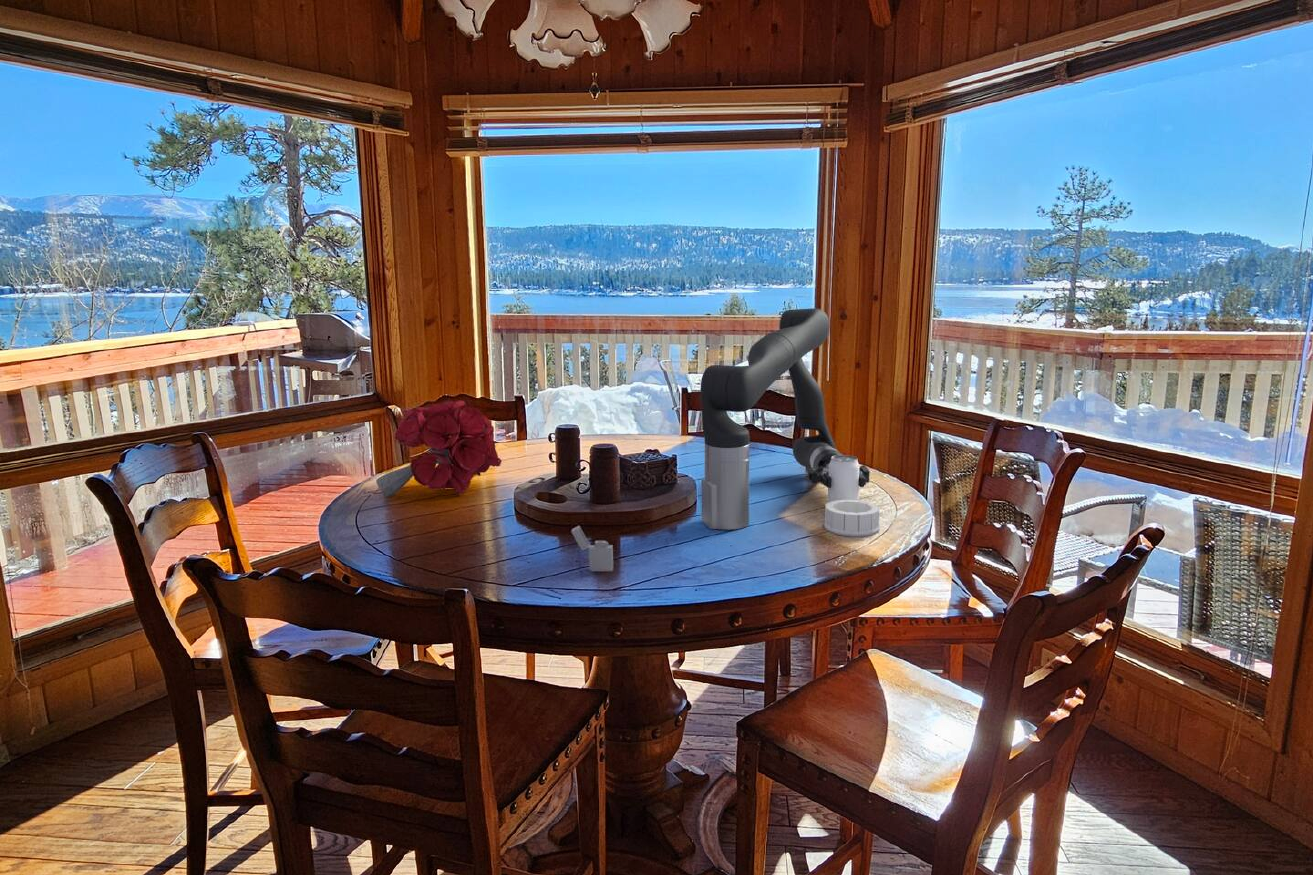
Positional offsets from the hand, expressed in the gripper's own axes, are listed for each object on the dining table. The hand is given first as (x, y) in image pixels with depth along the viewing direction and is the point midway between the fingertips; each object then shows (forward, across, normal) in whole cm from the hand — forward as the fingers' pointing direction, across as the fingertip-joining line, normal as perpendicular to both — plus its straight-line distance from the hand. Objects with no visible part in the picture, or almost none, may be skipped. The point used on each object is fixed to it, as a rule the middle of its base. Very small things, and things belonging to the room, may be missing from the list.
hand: (846, 483), depth 171 cm
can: (-2, 0, +7) cm, 8 cm away
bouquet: (-24, -93, +7) cm, 96 cm away
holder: (+9, -1, +7) cm, 12 cm away
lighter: (+29, -53, +7) cm, 61 cm away
